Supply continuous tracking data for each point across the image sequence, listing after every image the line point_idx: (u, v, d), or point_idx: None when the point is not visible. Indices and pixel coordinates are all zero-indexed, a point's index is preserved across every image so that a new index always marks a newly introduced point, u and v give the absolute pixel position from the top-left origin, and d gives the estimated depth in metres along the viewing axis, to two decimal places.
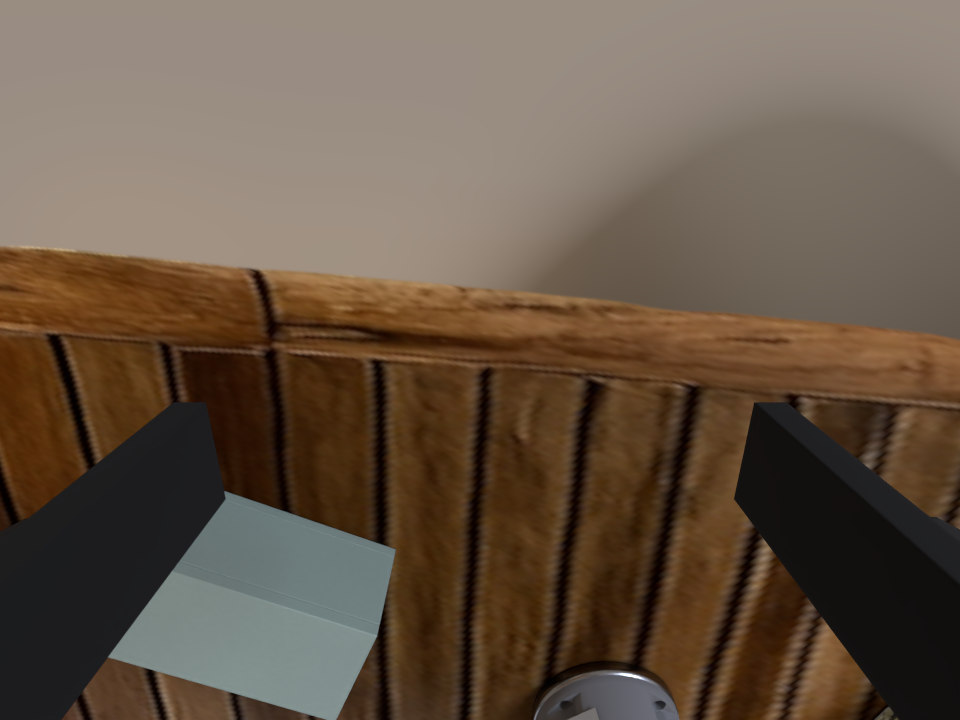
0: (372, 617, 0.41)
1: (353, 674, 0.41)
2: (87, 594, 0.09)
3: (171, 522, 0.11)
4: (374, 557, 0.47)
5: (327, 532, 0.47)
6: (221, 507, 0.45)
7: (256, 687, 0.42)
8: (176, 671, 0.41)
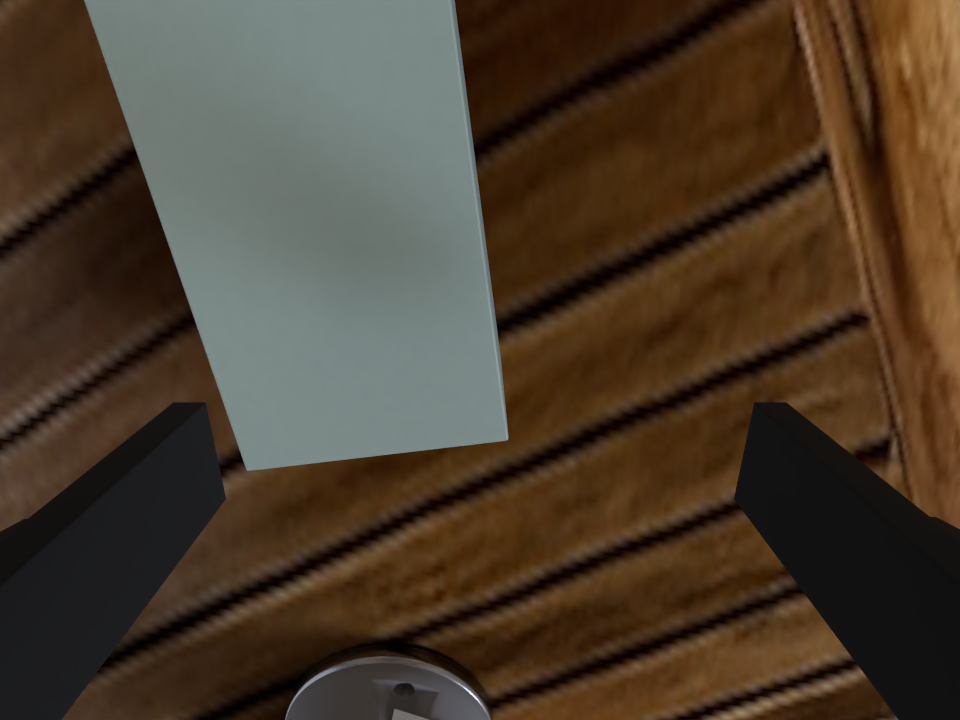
0: None
1: (390, 448, 0.20)
2: (87, 594, 0.09)
3: (171, 522, 0.11)
4: (497, 336, 0.27)
5: (485, 240, 0.26)
6: None
7: (227, 297, 0.18)
8: (139, 102, 0.16)
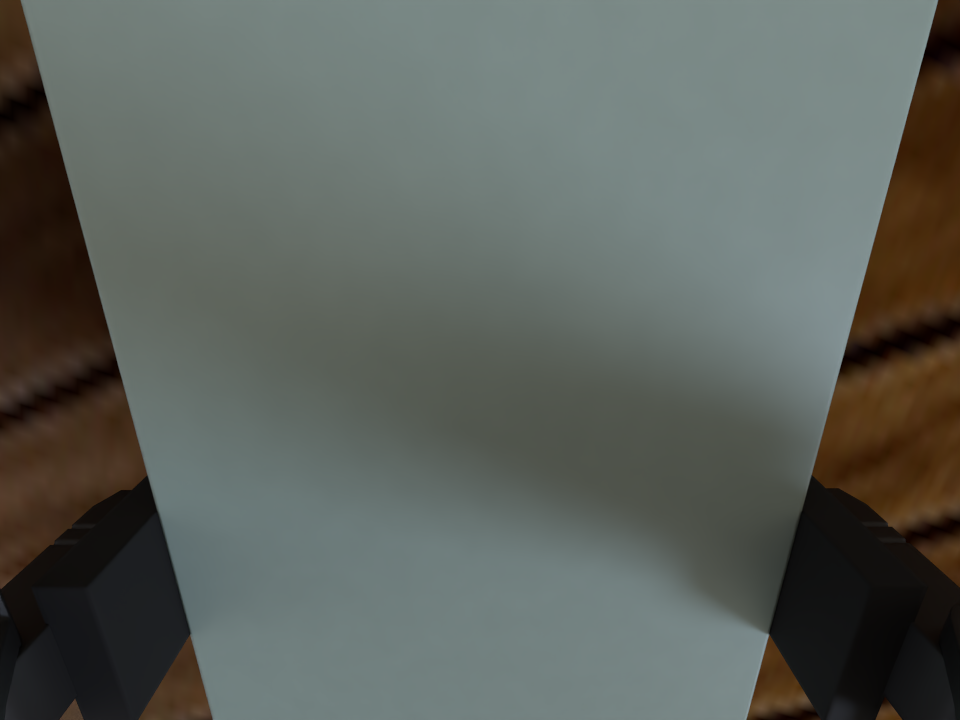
0: None
1: (512, 716, 0.10)
2: None
3: None
4: None
5: None
6: None
7: (222, 407, 0.08)
8: None
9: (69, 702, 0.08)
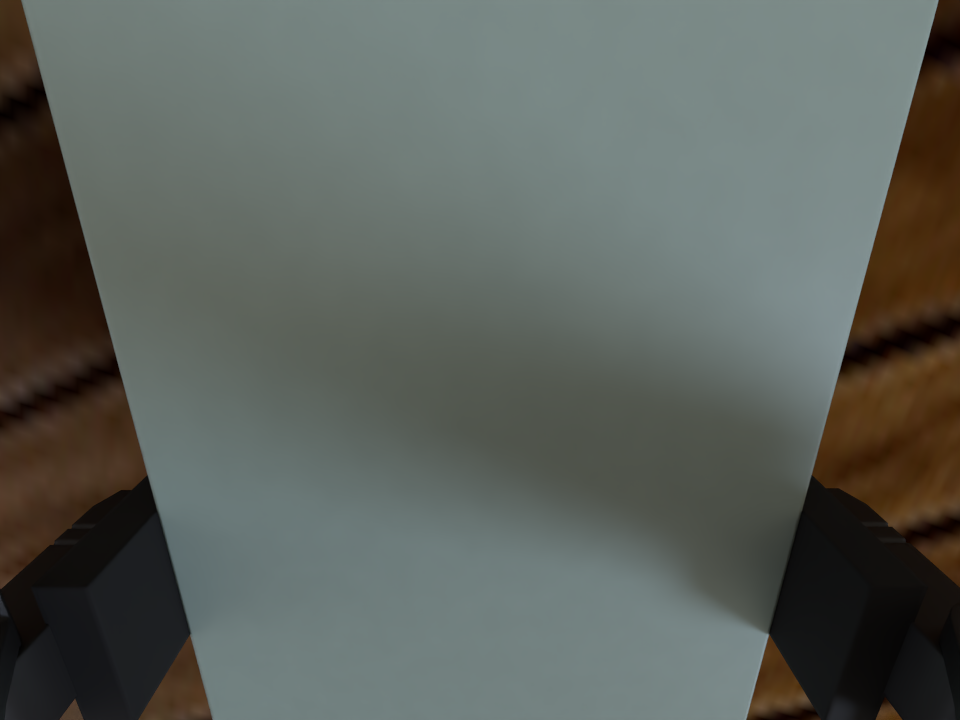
0: None
1: (512, 716, 0.10)
2: None
3: None
4: None
5: None
6: None
7: (222, 408, 0.08)
8: None
9: (69, 702, 0.08)
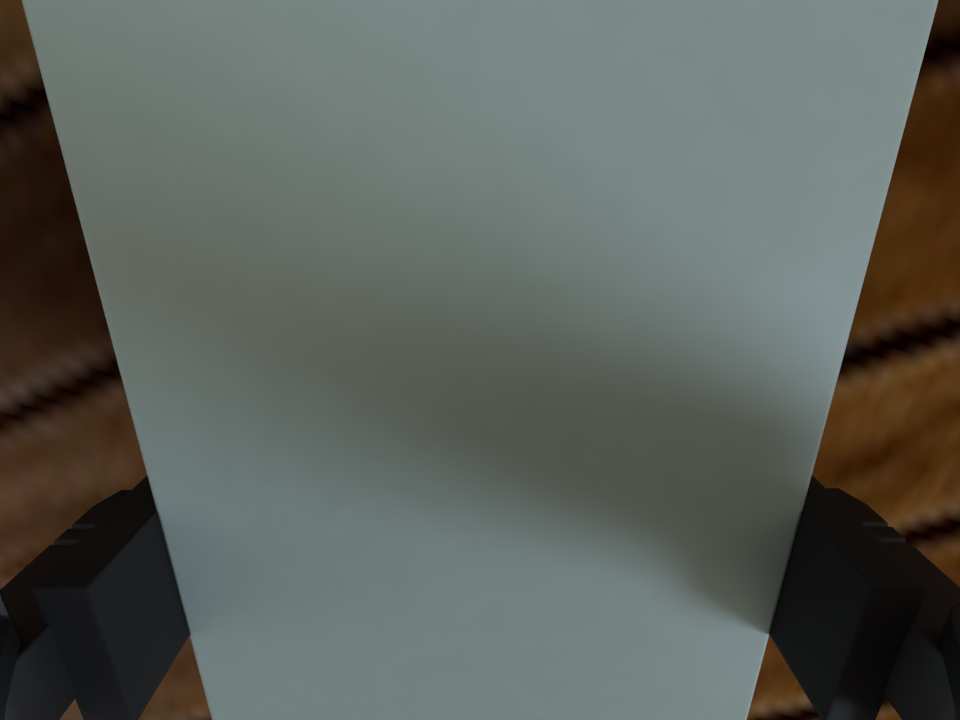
0: None
1: (512, 717, 0.10)
2: None
3: None
4: None
5: None
6: None
7: (222, 407, 0.08)
8: None
9: (69, 702, 0.08)
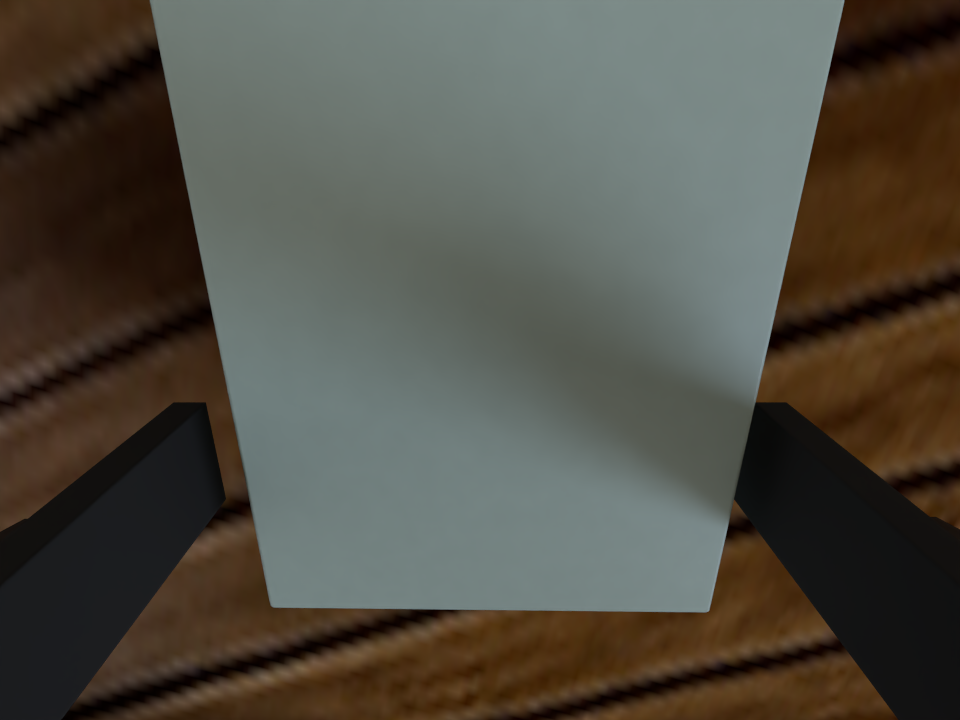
0: None
1: (516, 602, 0.12)
2: (87, 594, 0.09)
3: (171, 522, 0.11)
4: None
5: None
6: None
7: (289, 333, 0.10)
8: None
9: None
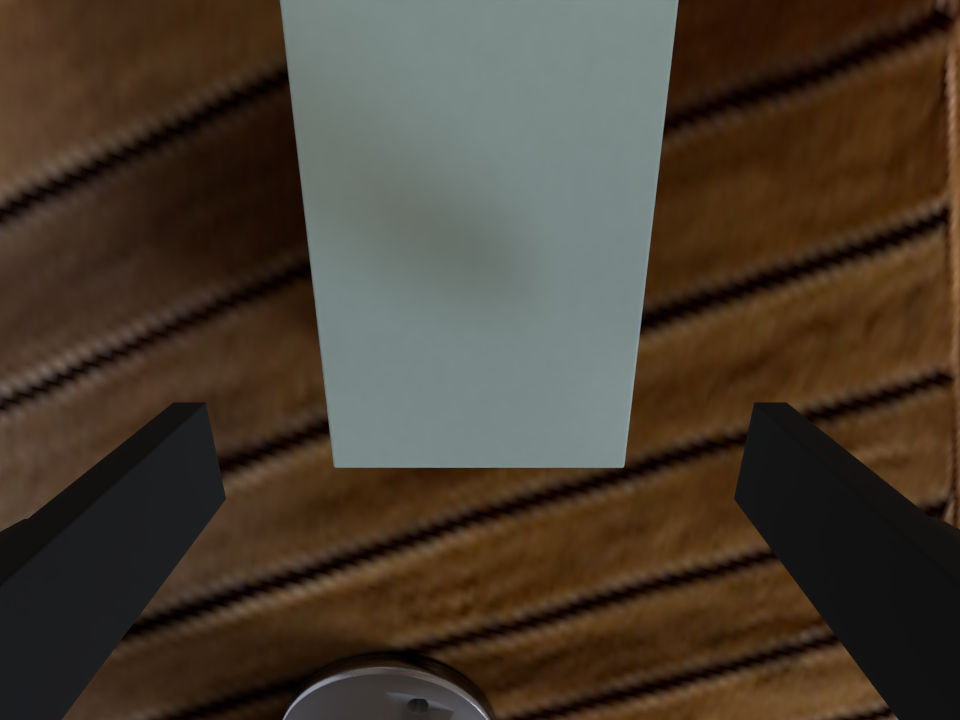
0: None
1: (497, 461, 0.19)
2: (87, 594, 0.09)
3: (171, 522, 0.11)
4: None
5: None
6: None
7: (356, 276, 0.16)
8: (308, 45, 0.14)
9: None
